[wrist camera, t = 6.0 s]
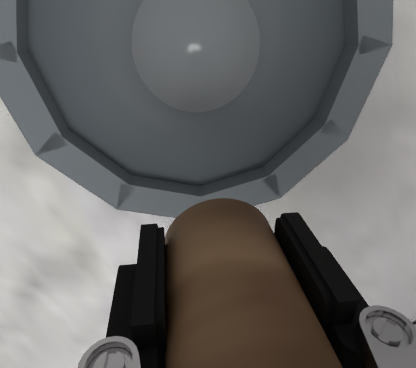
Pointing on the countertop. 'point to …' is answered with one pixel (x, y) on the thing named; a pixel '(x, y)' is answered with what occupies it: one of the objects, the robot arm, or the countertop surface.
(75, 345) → the countertop surface
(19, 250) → the countertop surface
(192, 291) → the walnut bead
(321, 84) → the slate tray
